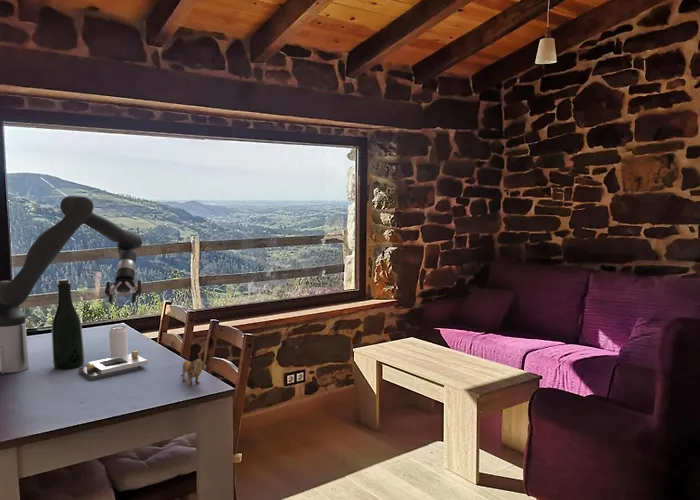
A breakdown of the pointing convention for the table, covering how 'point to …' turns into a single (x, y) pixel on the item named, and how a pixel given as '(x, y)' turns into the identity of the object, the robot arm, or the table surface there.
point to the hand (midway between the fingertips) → (122, 302)
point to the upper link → (126, 360)
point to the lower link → (94, 375)
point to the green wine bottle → (66, 331)
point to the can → (118, 341)
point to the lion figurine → (193, 370)
